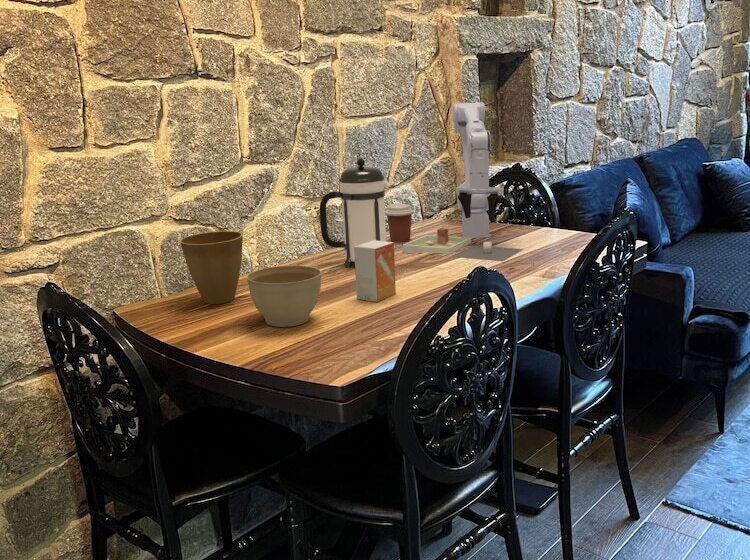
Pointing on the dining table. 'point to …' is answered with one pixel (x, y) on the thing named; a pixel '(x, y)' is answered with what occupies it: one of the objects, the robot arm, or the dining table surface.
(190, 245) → the plant pot
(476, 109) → the robot arm
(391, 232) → the coffee cup
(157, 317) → the dining table surface
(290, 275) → the planter bowl
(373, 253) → the small box
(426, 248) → the sage tray
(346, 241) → the coffee press
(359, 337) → the dining table surface
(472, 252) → the stake board
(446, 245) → the tan square frame
